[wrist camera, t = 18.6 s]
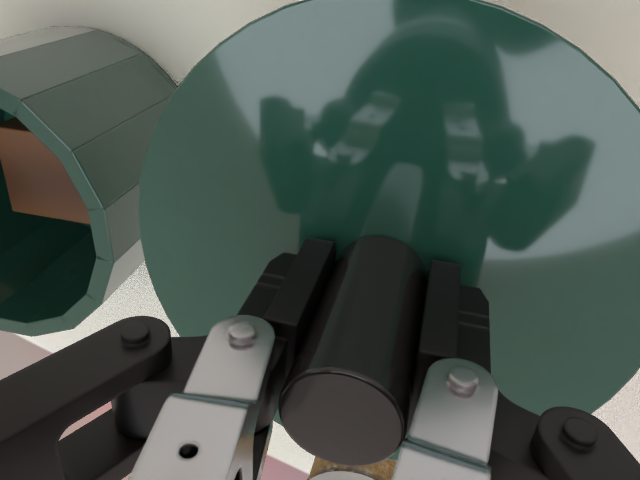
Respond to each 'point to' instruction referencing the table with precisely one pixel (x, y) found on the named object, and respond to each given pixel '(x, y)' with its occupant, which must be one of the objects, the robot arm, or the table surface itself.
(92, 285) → the pot
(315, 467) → the sprinkles bottle
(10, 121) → the block
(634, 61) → the table surface
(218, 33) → the table surface
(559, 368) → the lid
